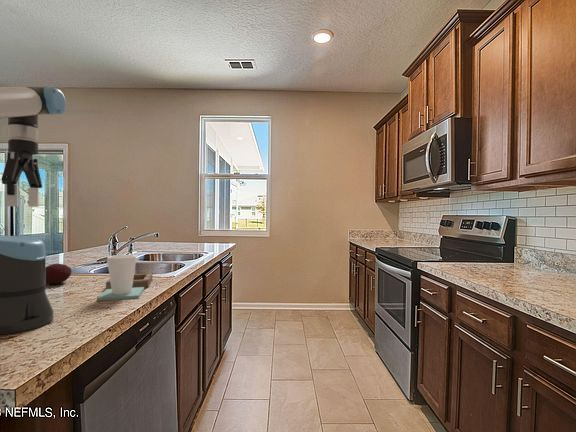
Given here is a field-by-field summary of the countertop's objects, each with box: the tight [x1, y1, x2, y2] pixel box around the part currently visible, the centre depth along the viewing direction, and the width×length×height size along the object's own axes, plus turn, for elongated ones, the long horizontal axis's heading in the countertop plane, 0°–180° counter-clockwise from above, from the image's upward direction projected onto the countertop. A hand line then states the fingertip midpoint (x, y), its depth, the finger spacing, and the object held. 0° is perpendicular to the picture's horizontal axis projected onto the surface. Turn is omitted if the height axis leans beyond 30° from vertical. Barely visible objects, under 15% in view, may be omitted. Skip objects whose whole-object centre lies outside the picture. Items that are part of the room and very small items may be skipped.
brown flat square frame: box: [105, 272, 154, 290], centre depth 134 cm, size 15×15×3 cm
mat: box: [96, 287, 145, 302], centre depth 118 cm, size 13×13×1 cm
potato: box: [45, 263, 72, 285], centre depth 135 cm, size 12×11×8 cm
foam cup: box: [106, 254, 137, 294], centre depth 118 cm, size 10×9×13 cm
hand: (23, 206), depth 105 cm, fingers open, 13 cm apart
